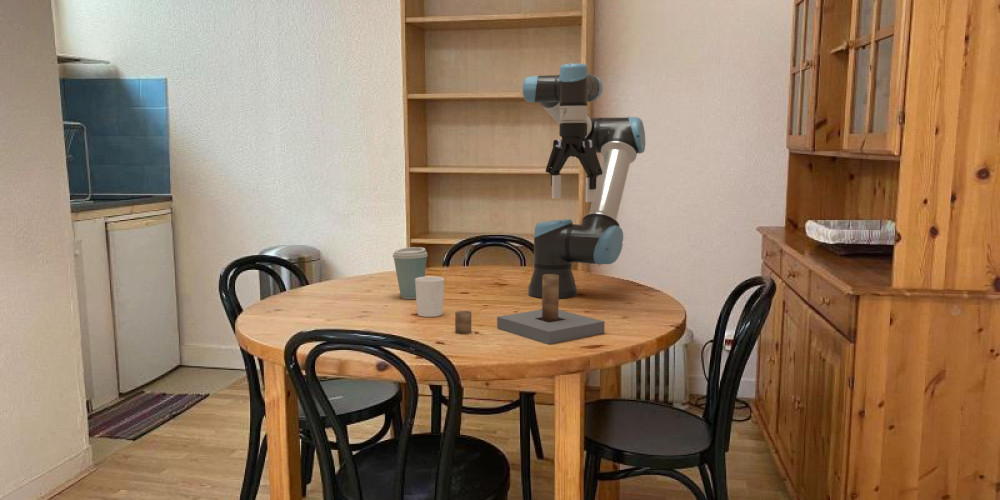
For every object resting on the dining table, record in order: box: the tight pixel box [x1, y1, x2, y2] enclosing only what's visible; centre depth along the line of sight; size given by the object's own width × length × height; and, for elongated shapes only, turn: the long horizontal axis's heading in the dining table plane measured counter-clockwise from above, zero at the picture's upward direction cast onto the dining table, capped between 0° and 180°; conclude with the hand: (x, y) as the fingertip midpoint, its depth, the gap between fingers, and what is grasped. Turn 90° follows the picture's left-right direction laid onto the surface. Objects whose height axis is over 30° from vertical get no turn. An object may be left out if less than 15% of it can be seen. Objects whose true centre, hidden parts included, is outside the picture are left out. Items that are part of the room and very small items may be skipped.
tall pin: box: [541, 274, 560, 322], centre depth 191 cm, size 4×4×14 cm
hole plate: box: [496, 308, 606, 345], centre depth 192 cm, size 20×18×3 cm
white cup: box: [415, 275, 445, 318], centre depth 210 cm, size 8×8×10 cm
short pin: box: [454, 310, 472, 335], centre depth 190 cm, size 4×4×5 cm
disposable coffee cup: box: [392, 246, 429, 300], centre depth 233 cm, size 11×11×15 cm
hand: (572, 200), depth 212 cm, fingers open, 13 cm apart
